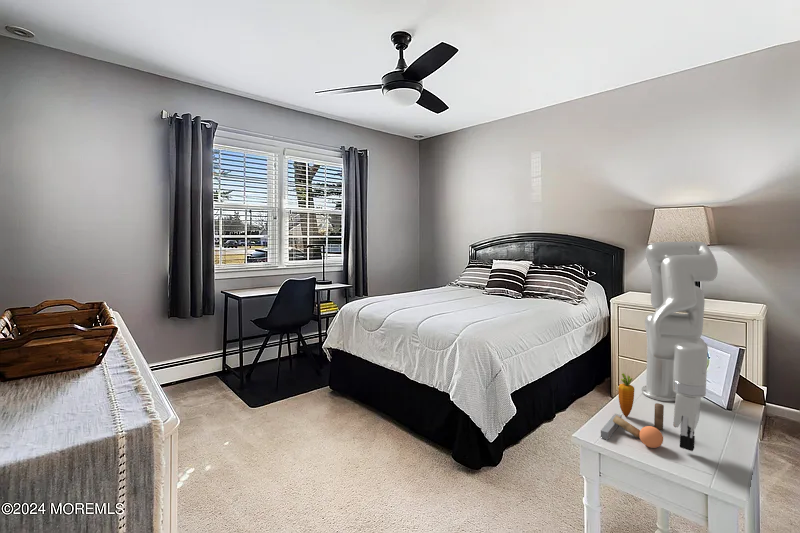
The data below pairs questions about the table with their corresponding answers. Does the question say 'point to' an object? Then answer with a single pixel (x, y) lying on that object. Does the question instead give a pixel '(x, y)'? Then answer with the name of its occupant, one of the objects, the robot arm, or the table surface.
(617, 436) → the table surface
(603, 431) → the back wall
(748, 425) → the table surface
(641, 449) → the table surface
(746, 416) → the table surface
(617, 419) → the oak pin
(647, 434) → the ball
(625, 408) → the carrot
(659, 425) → the walnut pin
